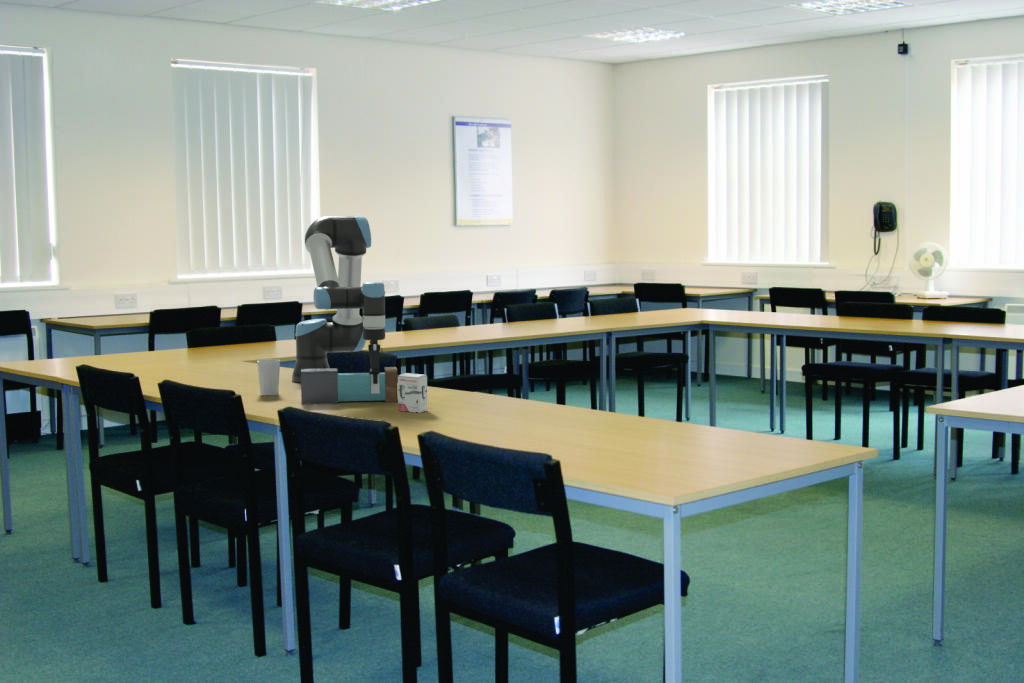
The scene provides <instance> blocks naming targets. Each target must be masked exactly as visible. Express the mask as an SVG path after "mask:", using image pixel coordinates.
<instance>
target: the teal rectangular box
mask: <svg viewBox="0 0 1024 683" xmlns="http://www.w3.org/2000/svg"><path fill="white" fill-rule="evenodd" d="M337 381H338V402H365V401H366V402H368V401H369V402H372V401H373V402H374V401H375V402H376V401H386V390H385V371H384V372H379V391H380V393H374V394H371V374H369V372H356V373H355V372H351V373H350V372H345V373H343V372H342V373H339V372H337Z"/></svg>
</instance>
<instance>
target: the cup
mask: <svg viewBox="0 0 1024 683" xmlns="http://www.w3.org/2000/svg"><path fill="white" fill-rule="evenodd" d="M256 363H257V373H258V382H259V393H260V394H262V395H261V396H263V395H273V396H278V395H279V393H280V390H279V385H280V369H281V368H280V367H281V360H280V359H276V358H275V359H274V358H273V359H271V358H269V359H268V358H266V359H259V360H257V361H256ZM260 394H259V395H260ZM277 394H278V395H277Z"/></svg>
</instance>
